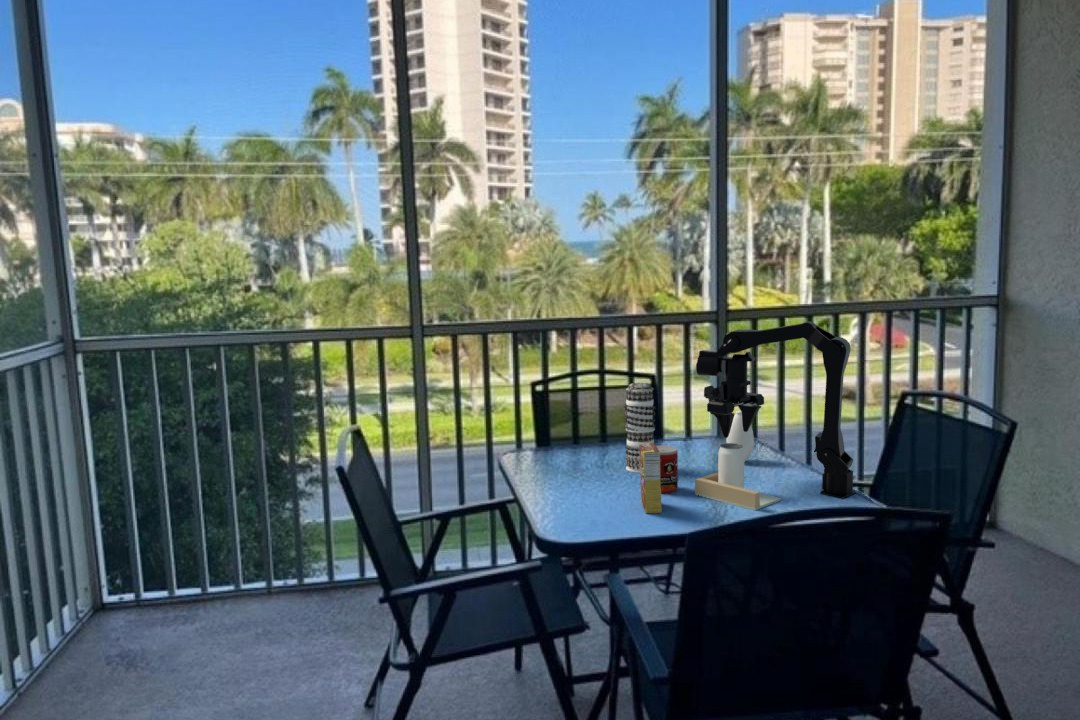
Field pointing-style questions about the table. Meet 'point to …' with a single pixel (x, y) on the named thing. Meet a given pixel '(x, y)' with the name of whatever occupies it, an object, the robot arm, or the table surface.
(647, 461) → the candy box
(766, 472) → the table surface
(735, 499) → the cleat board
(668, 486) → the canned food
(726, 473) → the can
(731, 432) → the sauce bottle
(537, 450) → the table surface
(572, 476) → the table surface
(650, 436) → the decorative candle
